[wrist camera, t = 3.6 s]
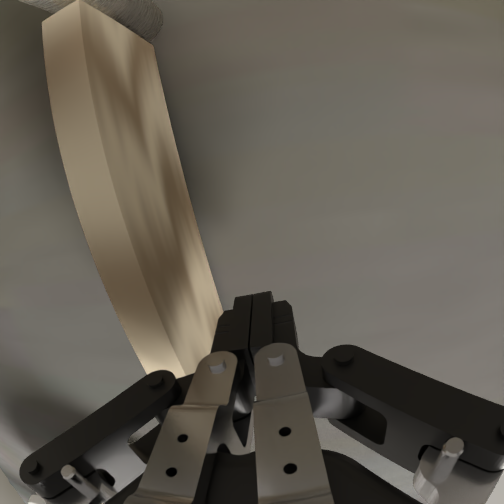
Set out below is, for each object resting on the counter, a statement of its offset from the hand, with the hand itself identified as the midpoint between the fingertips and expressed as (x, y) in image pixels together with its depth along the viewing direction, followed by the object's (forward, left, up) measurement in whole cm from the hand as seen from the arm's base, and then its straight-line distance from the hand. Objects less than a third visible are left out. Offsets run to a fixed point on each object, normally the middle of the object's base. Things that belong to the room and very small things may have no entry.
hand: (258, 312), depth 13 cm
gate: (0, -5, -5) cm, 7 cm away
